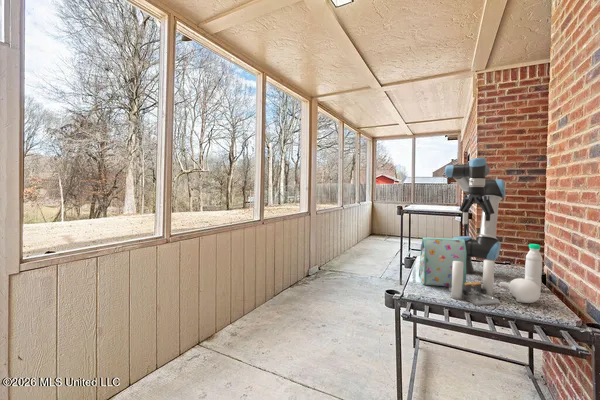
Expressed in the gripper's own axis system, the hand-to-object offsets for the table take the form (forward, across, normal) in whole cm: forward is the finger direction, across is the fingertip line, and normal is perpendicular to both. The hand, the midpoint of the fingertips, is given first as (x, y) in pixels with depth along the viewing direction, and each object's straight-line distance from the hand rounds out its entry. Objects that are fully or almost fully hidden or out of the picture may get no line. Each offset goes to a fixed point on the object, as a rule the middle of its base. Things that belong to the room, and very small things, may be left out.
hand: (475, 225), depth 149 cm
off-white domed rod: (+35, +11, -2) cm, 36 cm away
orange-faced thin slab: (+33, +11, -11) cm, 36 cm away
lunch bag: (+35, -9, -13) cm, 38 cm away
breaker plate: (+35, +11, -11) cm, 38 cm away
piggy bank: (+35, +19, +11) cm, 41 cm away
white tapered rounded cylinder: (+35, +11, -20) cm, 42 cm away
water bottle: (+35, +7, +32) cm, 48 cm away
